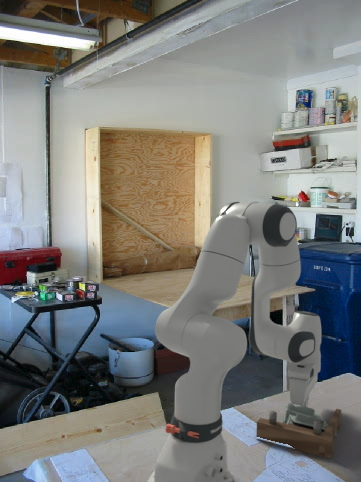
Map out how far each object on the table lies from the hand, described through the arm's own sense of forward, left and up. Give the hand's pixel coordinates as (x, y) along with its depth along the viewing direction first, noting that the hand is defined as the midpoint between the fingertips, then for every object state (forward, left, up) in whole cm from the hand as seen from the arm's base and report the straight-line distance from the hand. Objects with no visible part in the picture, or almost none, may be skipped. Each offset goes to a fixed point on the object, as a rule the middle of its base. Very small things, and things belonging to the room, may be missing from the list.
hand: (304, 407), depth 153 cm
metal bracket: (-6, -2, -3) cm, 7 cm away
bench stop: (-11, -2, -2) cm, 11 cm away
